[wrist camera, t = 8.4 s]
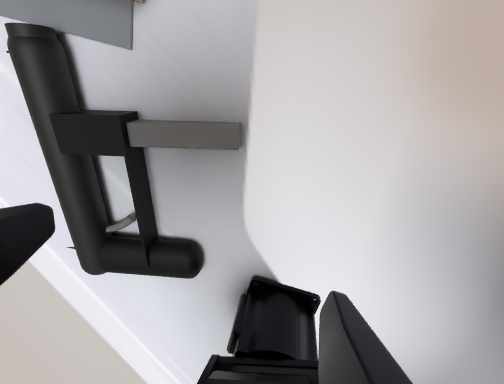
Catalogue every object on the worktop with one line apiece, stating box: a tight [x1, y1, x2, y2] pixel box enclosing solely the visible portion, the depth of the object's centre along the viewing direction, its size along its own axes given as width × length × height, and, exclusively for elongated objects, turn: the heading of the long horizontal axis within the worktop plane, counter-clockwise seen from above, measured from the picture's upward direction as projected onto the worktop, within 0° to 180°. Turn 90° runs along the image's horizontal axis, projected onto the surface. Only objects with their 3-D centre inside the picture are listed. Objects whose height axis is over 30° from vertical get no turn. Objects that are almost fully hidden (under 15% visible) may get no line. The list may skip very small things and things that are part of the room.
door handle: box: [5, 23, 241, 279], centre depth 20 cm, size 3×20×16 cm
